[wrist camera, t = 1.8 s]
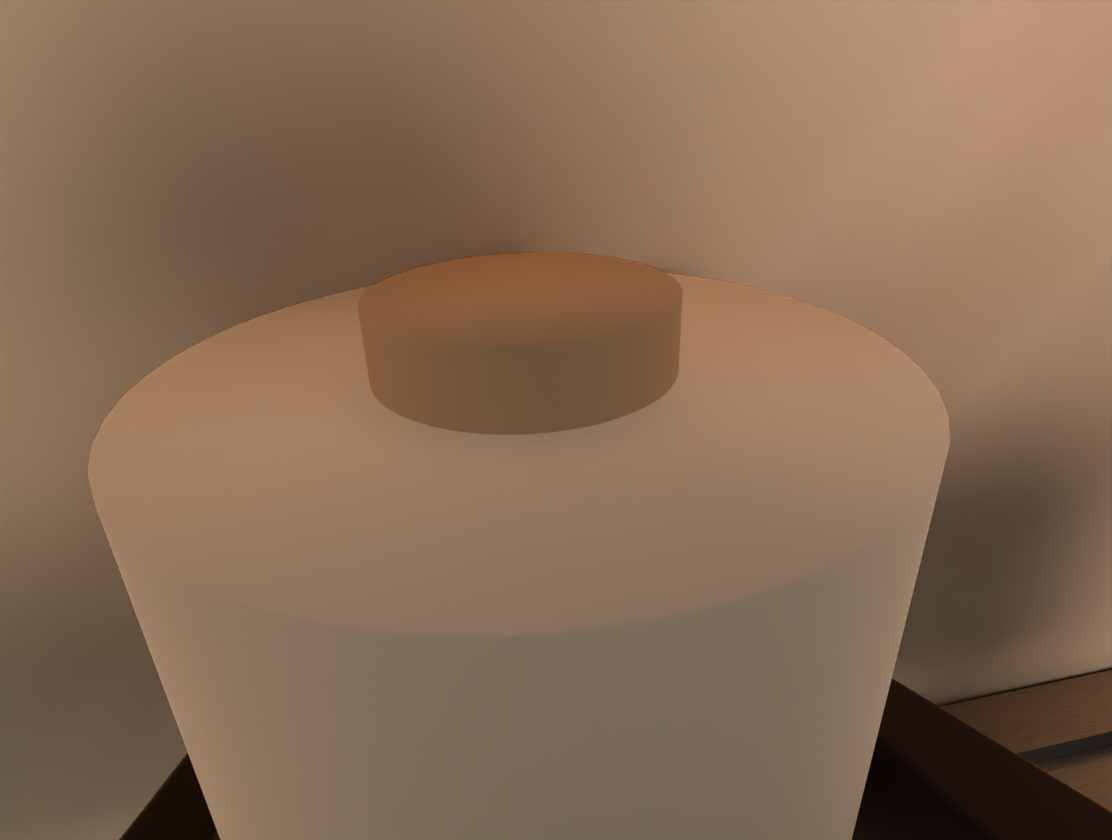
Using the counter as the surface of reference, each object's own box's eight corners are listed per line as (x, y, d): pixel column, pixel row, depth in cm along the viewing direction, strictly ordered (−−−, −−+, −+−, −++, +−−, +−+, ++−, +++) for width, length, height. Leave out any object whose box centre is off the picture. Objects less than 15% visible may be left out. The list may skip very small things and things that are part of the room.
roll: (213, 232, 6) (-289, 607, 2) (746, 202, 7) (1287, 433, 3) (371, 898, 11) (329, 1474, 6) (689, 843, 11) (851, 1332, 7)
